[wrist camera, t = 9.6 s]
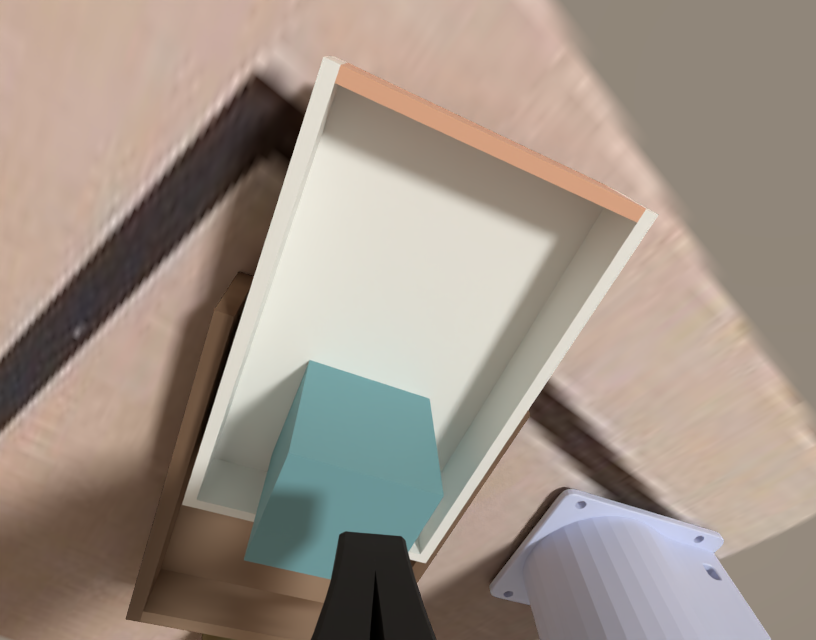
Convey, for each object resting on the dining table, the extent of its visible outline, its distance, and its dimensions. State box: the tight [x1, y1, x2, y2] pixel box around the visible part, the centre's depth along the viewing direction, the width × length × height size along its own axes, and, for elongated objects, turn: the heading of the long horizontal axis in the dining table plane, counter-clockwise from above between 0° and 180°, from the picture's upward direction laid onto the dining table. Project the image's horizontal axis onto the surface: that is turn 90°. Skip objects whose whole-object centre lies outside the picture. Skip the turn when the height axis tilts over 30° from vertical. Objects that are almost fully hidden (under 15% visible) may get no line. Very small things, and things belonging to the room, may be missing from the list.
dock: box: [126, 272, 530, 640], centre depth 21 cm, size 11×16×3 cm
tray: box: [182, 56, 658, 563], centre depth 16 cm, size 9×15×3 cm, turn 157°
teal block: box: [244, 360, 444, 579], centre depth 16 cm, size 4×4×4 cm
